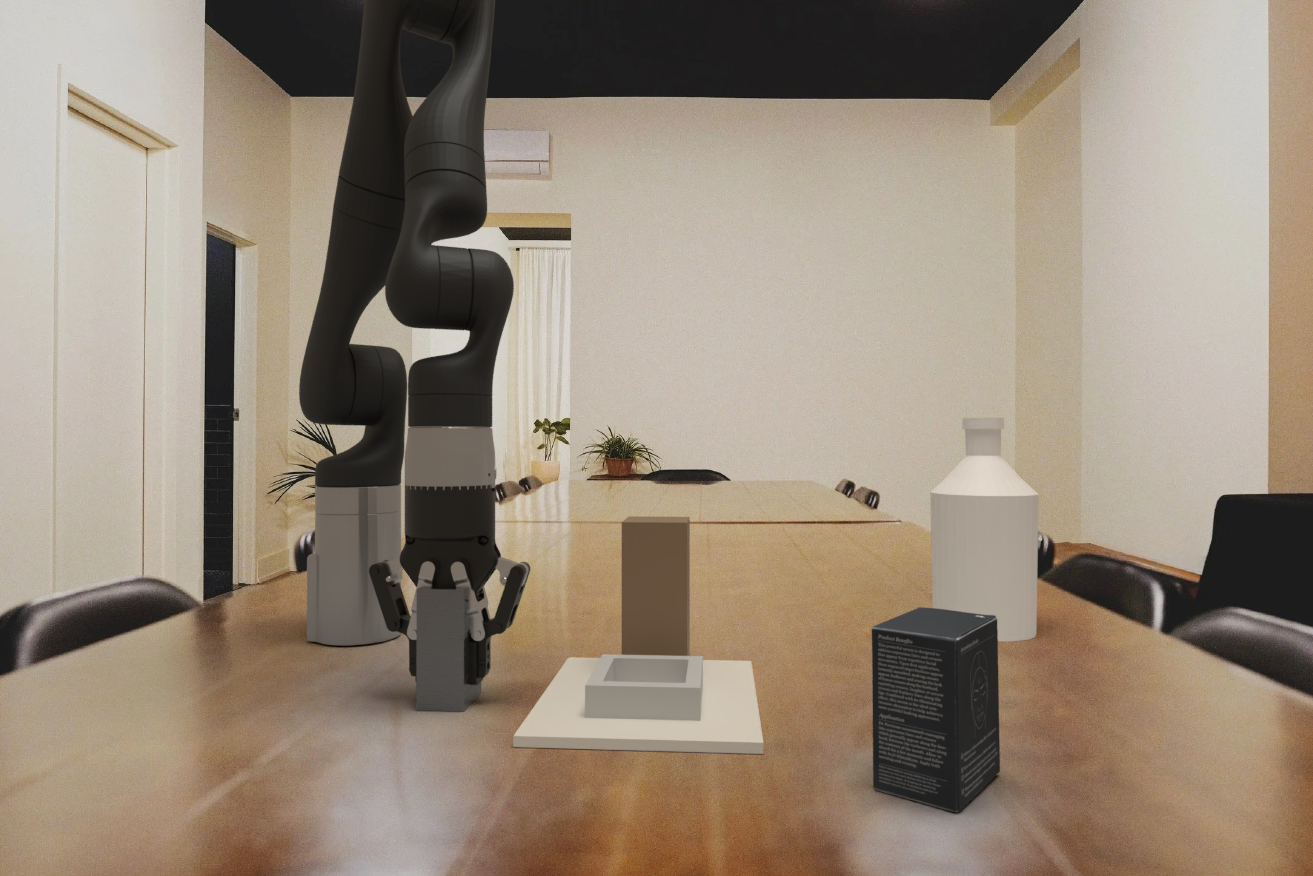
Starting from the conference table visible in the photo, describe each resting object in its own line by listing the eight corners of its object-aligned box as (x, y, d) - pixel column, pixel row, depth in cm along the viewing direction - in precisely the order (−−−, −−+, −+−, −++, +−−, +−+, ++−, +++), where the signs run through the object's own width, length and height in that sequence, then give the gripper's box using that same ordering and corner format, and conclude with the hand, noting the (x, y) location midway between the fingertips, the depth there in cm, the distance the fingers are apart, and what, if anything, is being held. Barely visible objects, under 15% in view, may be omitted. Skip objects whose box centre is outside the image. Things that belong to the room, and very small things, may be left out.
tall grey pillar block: (416, 710, 68) (416, 589, 68) (437, 692, 73) (437, 579, 73) (463, 711, 68) (464, 589, 68) (481, 693, 72) (481, 579, 73)
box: (918, 754, 58) (918, 605, 58) (1001, 775, 55) (1001, 616, 55) (869, 790, 52) (869, 623, 52) (958, 816, 49) (958, 636, 49)
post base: (513, 747, 60) (513, 542, 60) (568, 665, 82) (568, 516, 82) (763, 754, 58) (763, 544, 58) (751, 669, 80) (751, 517, 80)
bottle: (1006, 647, 89) (1005, 415, 89) (910, 628, 98) (910, 418, 98) (1058, 631, 96) (1057, 418, 96) (964, 615, 105) (964, 420, 106)
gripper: (350, 482, 67) (349, 693, 67) (521, 483, 66) (521, 697, 66) (387, 478, 75) (387, 668, 74) (542, 479, 73) (541, 671, 73)
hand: (450, 680), depth 70 cm, fingers closed on tall grey pillar block, 4 cm apart
